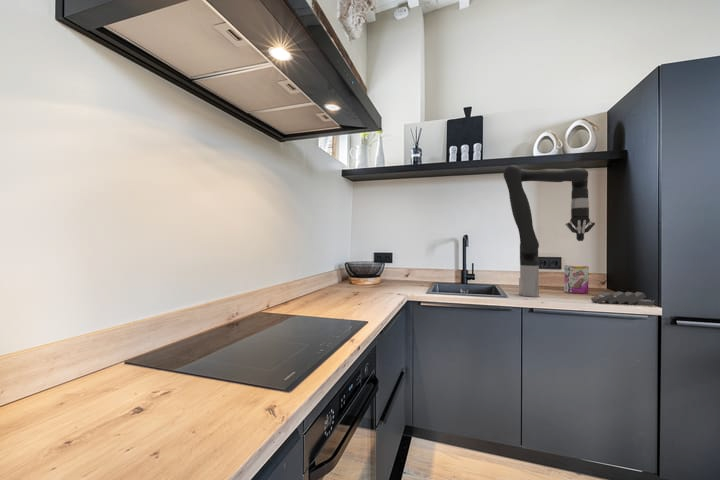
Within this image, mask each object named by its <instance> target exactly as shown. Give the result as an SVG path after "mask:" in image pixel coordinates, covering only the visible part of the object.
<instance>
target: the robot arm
mask: <svg viewBox="0 0 720 480" xmlns="http://www.w3.org/2000/svg"><path fill="white" fill-rule="evenodd" d="M503 170H504V171H503V179H504V181H505V184H506V186H507V190H508V196H509V201H510V203H509V204H510V206H511V207H510V209H511V212H512V215H513V216H512V217H513V220H514V222H515V224H516V227H517V229H518V234H519V241H520V242H519V278H518V295H520V296H522V297H530V298H531V297H534V298H535V297H537V298H538V297H539V295H540V271H539V270H540V269H539V266H540V264H539V263H540V259H539V247H540V245H539V244H540V243H539V240H538V238H537V235H536V232H535V230H534V225H533V216H532V211H531V206H530V202H529V199H528V196H527V194H526V192H525V190H524V188H523V183H522V182H543V183H544V182H546V183H564V182H571V201H570V220H569V222H567V223H565V226H566V227H567V228H568V229H569V230H570V231H571V233H575V235H576V236H575V237H576V240H577V242H583V241H584V240H585V234H586V233H588V232H589V231H591V229H593V227H594V226H595V224H596V223H595V222H593V221H591V218H590V201H589V188H588V184H589V183H588V181H589V180H588V179H589V171H588V170H587V169H585V168H584V167H583V168H581V167H573V168H545V169H544V168H543V169H524V168H520V167H519V166H517V165H514V164H511V165H508V166H507V167H506V168H505V169H503ZM586 226H587V227H586Z"/></svg>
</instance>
